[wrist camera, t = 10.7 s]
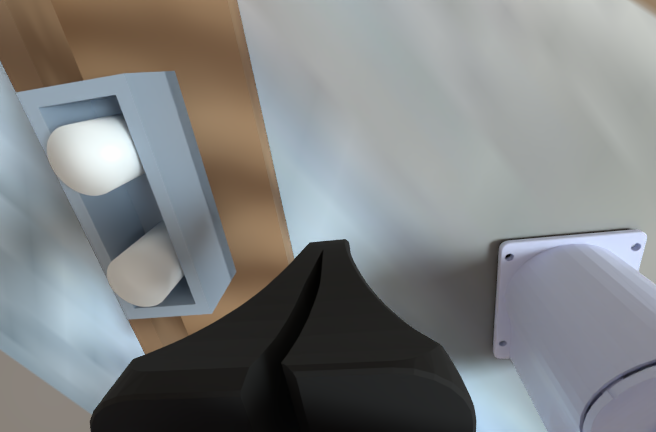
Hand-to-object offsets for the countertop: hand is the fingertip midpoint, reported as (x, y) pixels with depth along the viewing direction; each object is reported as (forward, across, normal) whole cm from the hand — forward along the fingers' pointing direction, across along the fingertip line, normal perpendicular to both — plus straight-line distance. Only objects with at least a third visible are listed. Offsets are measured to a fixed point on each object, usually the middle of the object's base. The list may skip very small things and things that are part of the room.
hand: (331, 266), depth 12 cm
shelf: (+9, +9, -1) cm, 13 cm away
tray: (+8, +10, -1) cm, 13 cm away
